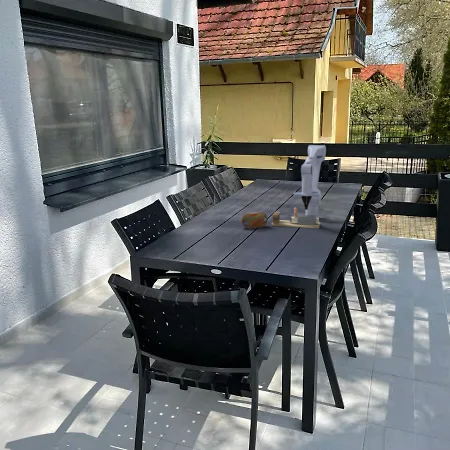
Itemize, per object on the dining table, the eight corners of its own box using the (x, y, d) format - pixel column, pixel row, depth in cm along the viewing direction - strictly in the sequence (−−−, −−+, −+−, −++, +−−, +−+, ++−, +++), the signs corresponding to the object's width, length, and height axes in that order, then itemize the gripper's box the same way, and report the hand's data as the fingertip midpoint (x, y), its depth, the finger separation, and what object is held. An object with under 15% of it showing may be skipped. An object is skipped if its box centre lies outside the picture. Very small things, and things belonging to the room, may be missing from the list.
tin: (242, 229, 258) (242, 214, 256) (240, 227, 261) (240, 213, 259) (267, 226, 262) (267, 212, 260) (265, 225, 265) (266, 211, 263)
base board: (273, 221, 272) (273, 219, 272) (319, 223, 266) (319, 222, 266) (271, 225, 263) (271, 224, 263) (318, 228, 256) (318, 226, 256)
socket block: (274, 220, 271) (274, 211, 269) (279, 220, 270) (279, 212, 268) (272, 223, 264) (272, 214, 263) (277, 223, 263) (277, 215, 262)
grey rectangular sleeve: (298, 222, 266) (298, 214, 265) (316, 223, 264) (316, 215, 263) (297, 224, 261) (297, 216, 260) (315, 225, 259) (315, 217, 258)
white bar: (290, 220, 266) (290, 206, 264) (318, 221, 262) (319, 207, 260) (289, 221, 263) (290, 207, 261) (318, 223, 259) (318, 209, 257)
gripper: (293, 186, 255) (292, 210, 259) (320, 187, 251) (319, 211, 255) (294, 184, 261) (294, 207, 265) (320, 184, 258) (319, 208, 262)
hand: (306, 209), depth 260 cm, fingers closed
